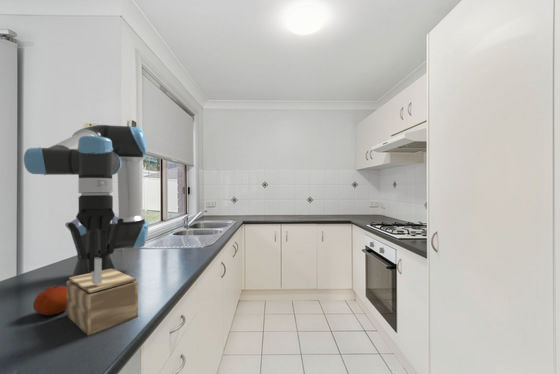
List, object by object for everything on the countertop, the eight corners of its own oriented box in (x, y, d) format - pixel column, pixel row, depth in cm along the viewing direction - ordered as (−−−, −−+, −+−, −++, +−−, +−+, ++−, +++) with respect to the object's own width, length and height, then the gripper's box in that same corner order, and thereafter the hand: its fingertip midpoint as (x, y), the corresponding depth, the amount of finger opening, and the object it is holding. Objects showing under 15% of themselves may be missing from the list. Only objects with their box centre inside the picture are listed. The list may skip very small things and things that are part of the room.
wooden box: (66, 315, 76) (66, 281, 77) (112, 301, 86) (112, 270, 86) (88, 335, 66) (87, 295, 66) (137, 316, 75) (137, 281, 75)
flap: (69, 279, 77) (69, 277, 77) (111, 270, 86) (111, 268, 86) (89, 292, 66) (89, 290, 66) (135, 280, 75) (135, 278, 75)
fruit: (80, 307, 82) (80, 281, 82) (49, 321, 73) (49, 292, 73) (58, 305, 84) (58, 280, 84) (26, 318, 75) (26, 290, 75)
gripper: (70, 195, 63) (70, 293, 62) (128, 193, 73) (128, 278, 73) (61, 195, 67) (61, 287, 67) (117, 194, 78) (117, 273, 77)
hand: (96, 282), depth 70 cm, fingers closed
